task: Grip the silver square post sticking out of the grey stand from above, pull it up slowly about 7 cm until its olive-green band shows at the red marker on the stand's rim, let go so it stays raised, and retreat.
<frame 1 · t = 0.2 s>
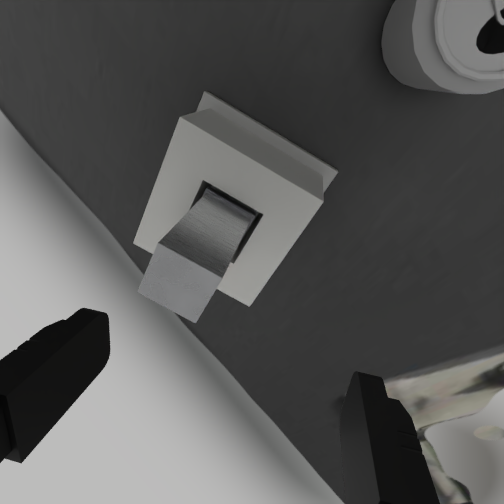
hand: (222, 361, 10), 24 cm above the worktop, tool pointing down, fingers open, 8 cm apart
column: (216, 228, 25), point 9 cm above the worktop, slide at 0.0 cm
can: (431, 33, 24), on the worktop
stand base: (240, 193, 33), on the worktop
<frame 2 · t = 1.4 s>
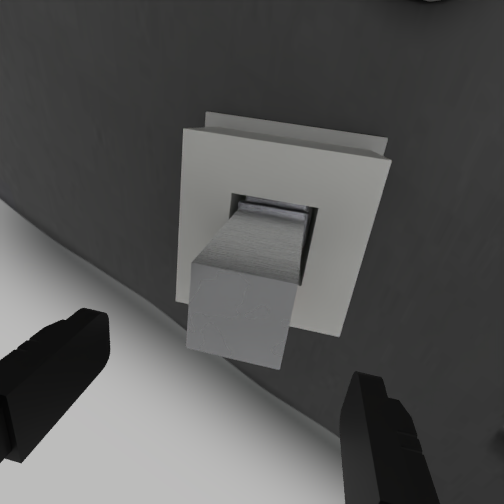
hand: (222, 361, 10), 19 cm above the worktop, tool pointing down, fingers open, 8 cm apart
column: (265, 246, 20), point 9 cm above the worktop, slide at 0.0 cm
stand base: (279, 210, 28), on the worktop
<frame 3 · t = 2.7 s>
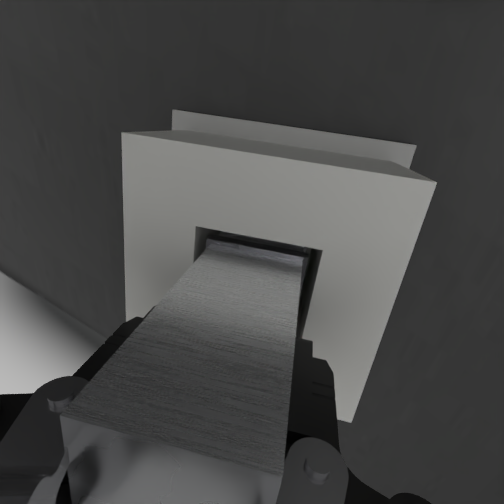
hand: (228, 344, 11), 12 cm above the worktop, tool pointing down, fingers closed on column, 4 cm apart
column: (245, 303, 14), point 9 cm above the worktop, slide at 0.0 cm, touching gripper
stand base: (271, 236, 22), on the worktop
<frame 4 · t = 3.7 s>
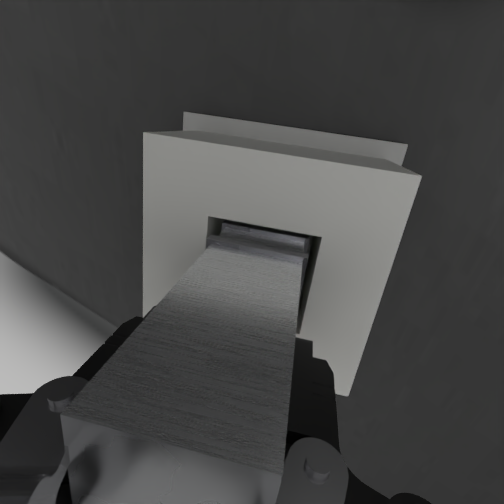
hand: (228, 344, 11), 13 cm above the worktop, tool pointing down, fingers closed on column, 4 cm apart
column: (245, 304, 14), point 11 cm above the worktop, slide at 1.7 cm, touching gripper
stand base: (274, 229, 23), on the worktop
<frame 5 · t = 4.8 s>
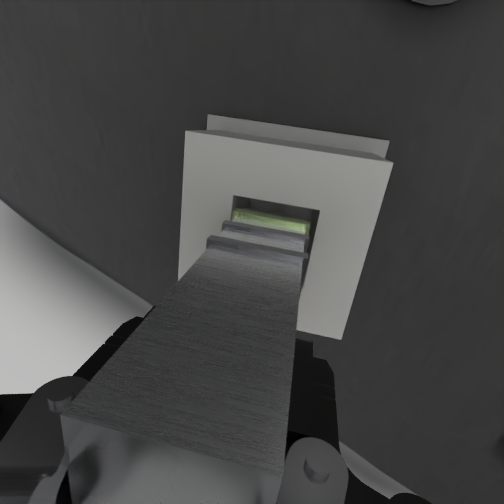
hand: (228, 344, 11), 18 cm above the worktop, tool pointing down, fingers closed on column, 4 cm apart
column: (245, 304, 14), point 16 cm above the worktop, slide at 6.8 cm, touching gripper
stand base: (281, 212, 28), on the worktop
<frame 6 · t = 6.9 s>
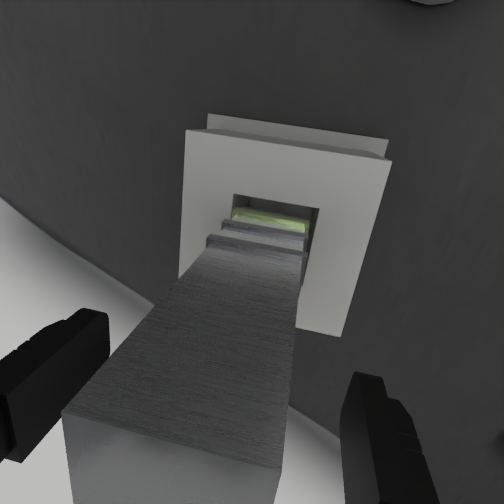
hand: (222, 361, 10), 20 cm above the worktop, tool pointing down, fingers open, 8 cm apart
column: (245, 303, 14), point 16 cm above the worktop, slide at 6.9 cm
stand base: (281, 211, 28), on the worktop
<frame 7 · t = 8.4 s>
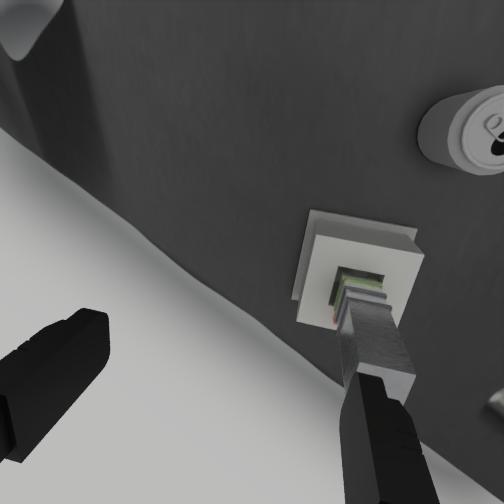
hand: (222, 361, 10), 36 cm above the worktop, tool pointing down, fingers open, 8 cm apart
column: (364, 327, 31), point 16 cm above the worktop, slide at 6.9 cm
can: (449, 131, 38), on the worktop
stand base: (349, 264, 46), on the worktop
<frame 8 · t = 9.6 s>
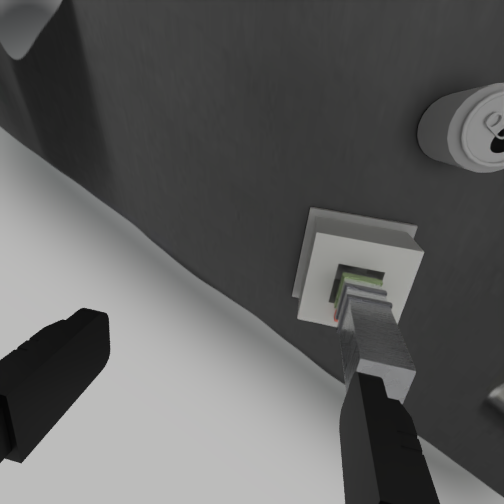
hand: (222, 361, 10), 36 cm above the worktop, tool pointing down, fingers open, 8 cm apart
column: (365, 324, 31), point 16 cm above the worktop, slide at 6.9 cm
can: (448, 128, 38), on the worktop
stand base: (349, 262, 46), on the worktop
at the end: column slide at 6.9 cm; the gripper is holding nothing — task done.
